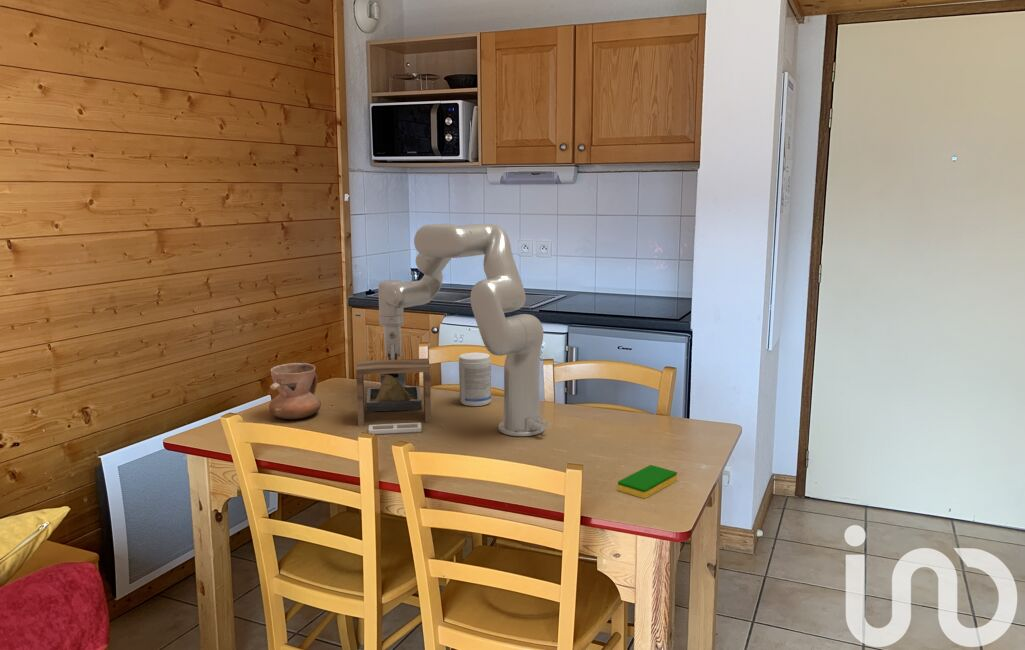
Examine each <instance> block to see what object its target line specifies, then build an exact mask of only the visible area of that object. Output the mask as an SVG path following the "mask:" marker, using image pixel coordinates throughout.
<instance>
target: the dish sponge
mask: <svg viewBox="0 0 1025 650" xmlns="http://www.w3.org/2000/svg"><path fill="white" fill-rule="evenodd" d="M677 474H678V472H677V471H673V470H672V469H671V470H670V469H667V468H665V467H664V468H663V467H660V466H656V465H653V464H652V465H651V464H650V465H648V466H646V467H644V468H642V469H640V470H638V471H635V472H634V473H632V474H630V475H628V476H626V477H624V478H622V479H620V480H618V481H617V491H618V492H622V493H625V494H628V495H631V496H635V497H637V498H641V499H647V498H648V497H650V496H652V495H654V494H656V493H657V492H659V491H661V490H663V489H664V488H666V487H668V486H670V485H672V484H673V483H675V482H676V481H677V480H678V475H677Z"/></svg>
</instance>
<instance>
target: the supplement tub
mask: <svg viewBox="0 0 1025 650" xmlns="http://www.w3.org/2000/svg"><path fill="white" fill-rule="evenodd" d="M490 356H491V355H490V354H488V353H486V352H467V353H462V354H460V355H459V357H458V359H459V360H458V374H459V376H458V377H459V378H458V379H459V381H458V383H459V402H460V404H462V405H463V406H468V407H481V406H486V405H488V404H490V403H491V402H492V375H491V374H492V370H491V369H492V366H491V365H492V364H491V357H490Z"/></svg>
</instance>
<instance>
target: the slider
mask: <svg viewBox="0 0 1025 650" xmlns="http://www.w3.org/2000/svg"><path fill="white" fill-rule="evenodd" d="M386 375H388V374H380V385H381V384H382V382H383V380H384V378H385V376H386ZM406 375H407V373H398V377H397V378H394V379H396V380H397V381H398V382H399V383H400V384H401V385H402V386H403V387H404V389H405V390H406V391H407V392H408V393H409V396H410V397H411V396H412V397H413V396H416V399H412V400H396V401H376V400H375V401H374V400H373V401H372V398H377V395H378V393H379V390H380V387H368V388H367V389H366V391H367V392H366V403H365V405H366V413H368V412H370V413H371V412H390V411H393V412H394V411H409V410H410V411H411V410H414V411H415V410H422V409H423V402H422V401H423V400H422V394H421V389H420V385H413V386H412V385H411V386H407V376H406Z"/></svg>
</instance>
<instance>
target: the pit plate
mask: <svg viewBox="0 0 1025 650" xmlns="http://www.w3.org/2000/svg"><path fill="white" fill-rule="evenodd" d="M422 431H423V430H422V422H408V423H407V422H404V423H403V422H402V423H401V422H400V423H384V424H382V423H381V424H368V434H369V433H372V434H375V435H374V436H376V435H377V436H381V435H397V434H399V435H400V434H401V435H402V434H418V433H419V434H420V433H422Z"/></svg>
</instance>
